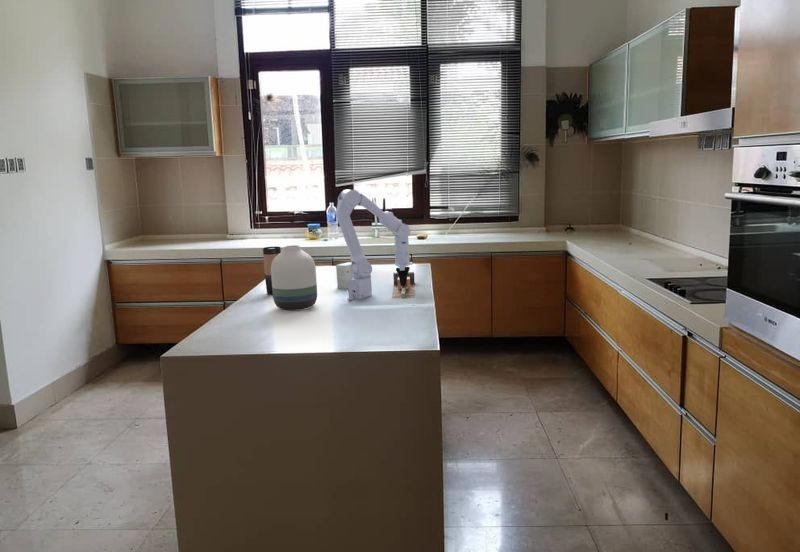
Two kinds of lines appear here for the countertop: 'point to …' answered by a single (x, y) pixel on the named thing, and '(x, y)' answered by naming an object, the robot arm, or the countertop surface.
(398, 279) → the slider block
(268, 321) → the countertop surface
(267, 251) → the travel mug
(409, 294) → the rail board
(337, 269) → the small box
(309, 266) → the vase
